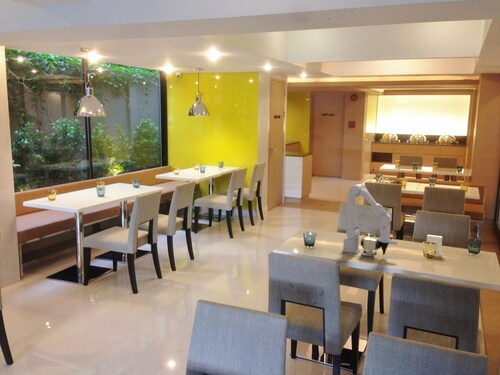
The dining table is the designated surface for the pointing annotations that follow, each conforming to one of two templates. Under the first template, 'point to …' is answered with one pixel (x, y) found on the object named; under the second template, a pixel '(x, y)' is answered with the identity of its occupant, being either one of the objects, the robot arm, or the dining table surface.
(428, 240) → the base with upright slab
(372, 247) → the pneumatic valve
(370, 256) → the guide rails
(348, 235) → the robot arm
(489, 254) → the dining table surface
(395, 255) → the dining table surface
